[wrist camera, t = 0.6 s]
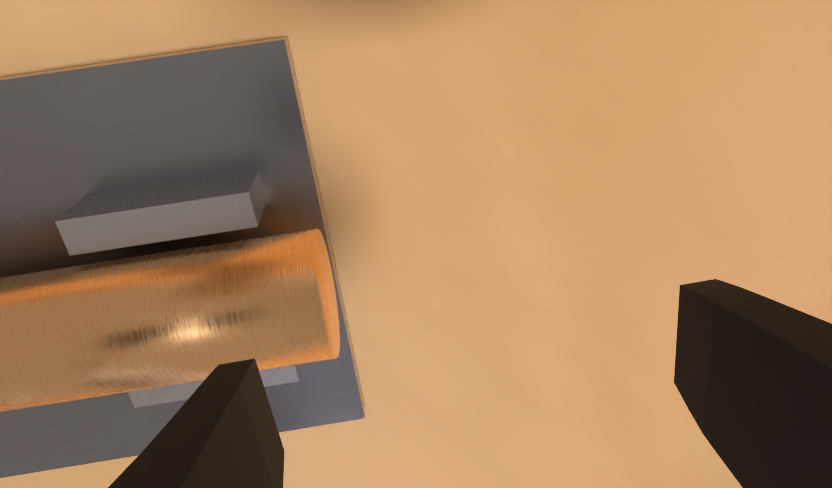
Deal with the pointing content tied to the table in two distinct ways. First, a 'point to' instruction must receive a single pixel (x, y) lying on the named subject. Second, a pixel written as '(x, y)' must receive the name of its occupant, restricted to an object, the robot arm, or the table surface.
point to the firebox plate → (158, 214)
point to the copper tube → (165, 318)
